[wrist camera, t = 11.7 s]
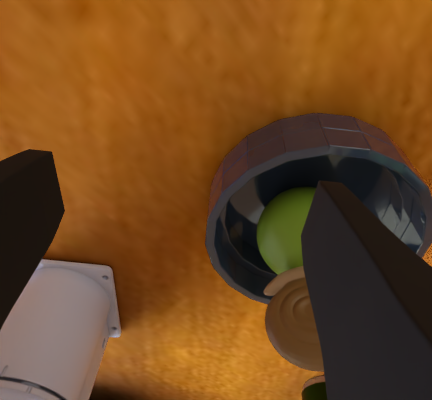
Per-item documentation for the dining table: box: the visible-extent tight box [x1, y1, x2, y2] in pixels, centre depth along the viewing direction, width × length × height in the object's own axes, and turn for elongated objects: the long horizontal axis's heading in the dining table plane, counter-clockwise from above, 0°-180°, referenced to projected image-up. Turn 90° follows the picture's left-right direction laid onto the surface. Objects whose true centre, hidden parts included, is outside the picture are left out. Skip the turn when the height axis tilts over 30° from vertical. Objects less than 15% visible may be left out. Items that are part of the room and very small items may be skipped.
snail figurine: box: [257, 187, 324, 372], centre depth 17 cm, size 5×6×12 cm
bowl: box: [205, 113, 432, 304], centre depth 21 cm, size 12×12×4 cm
